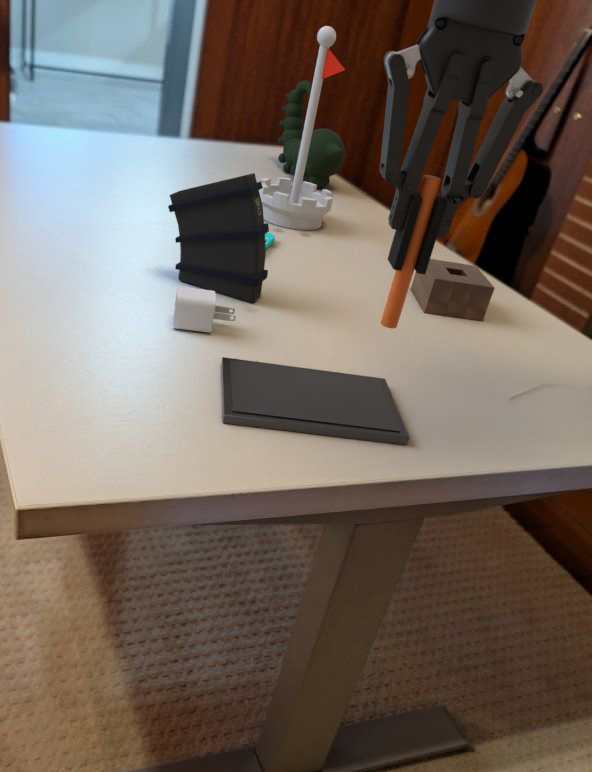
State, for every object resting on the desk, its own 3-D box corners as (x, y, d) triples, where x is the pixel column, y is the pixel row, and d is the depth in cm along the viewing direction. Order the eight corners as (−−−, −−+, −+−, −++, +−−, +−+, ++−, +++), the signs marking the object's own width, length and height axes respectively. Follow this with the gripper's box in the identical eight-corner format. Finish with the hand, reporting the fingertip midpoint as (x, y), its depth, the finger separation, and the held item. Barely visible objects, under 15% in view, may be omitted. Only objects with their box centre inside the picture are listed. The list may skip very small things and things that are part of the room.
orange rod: (394, 322, 73) (438, 176, 66) (398, 329, 72) (443, 181, 65) (379, 320, 73) (421, 173, 66) (382, 327, 72) (425, 178, 64)
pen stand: (465, 297, 113) (476, 265, 110) (482, 321, 105) (495, 287, 103) (410, 289, 111) (420, 256, 109) (424, 312, 104) (435, 278, 102)
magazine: (277, 299, 94) (248, 176, 88) (186, 314, 100) (152, 199, 94) (287, 291, 97) (259, 171, 91) (198, 305, 103) (166, 193, 97)
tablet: (383, 385, 83) (385, 377, 82) (407, 445, 73) (410, 436, 72) (220, 364, 80) (222, 355, 80) (222, 423, 70) (224, 414, 70)
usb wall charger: (173, 315, 89) (177, 283, 87) (231, 323, 90) (236, 292, 88) (172, 330, 86) (177, 297, 83) (233, 338, 87) (238, 305, 84)
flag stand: (238, 208, 131) (269, 14, 115) (291, 205, 139) (327, 22, 124) (288, 234, 124) (329, 29, 108) (341, 229, 132) (387, 38, 116)
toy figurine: (262, 169, 167) (312, 193, 147) (275, 75, 158) (330, 87, 138) (300, 172, 170) (354, 196, 151) (314, 80, 162) (374, 93, 142)
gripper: (564, -14, 61) (469, 264, 73) (391, -52, 59) (323, 241, 71) (605, -9, 55) (493, 294, 67) (413, -52, 53) (334, 269, 65)
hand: (406, 266), depth 69 cm, fingers closed on orange rod, 1 cm apart
